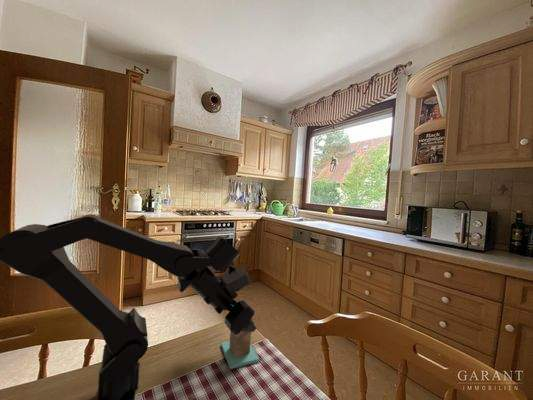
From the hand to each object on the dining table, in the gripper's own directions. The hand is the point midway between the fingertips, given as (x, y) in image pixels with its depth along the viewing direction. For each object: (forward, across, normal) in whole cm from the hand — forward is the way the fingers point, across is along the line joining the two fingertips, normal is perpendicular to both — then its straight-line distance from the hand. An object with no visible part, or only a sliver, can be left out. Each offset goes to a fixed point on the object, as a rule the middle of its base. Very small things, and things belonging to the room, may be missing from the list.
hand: (246, 320), depth 62 cm
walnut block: (+4, 0, +6) cm, 8 cm away
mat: (+5, 0, +7) cm, 9 cm away
